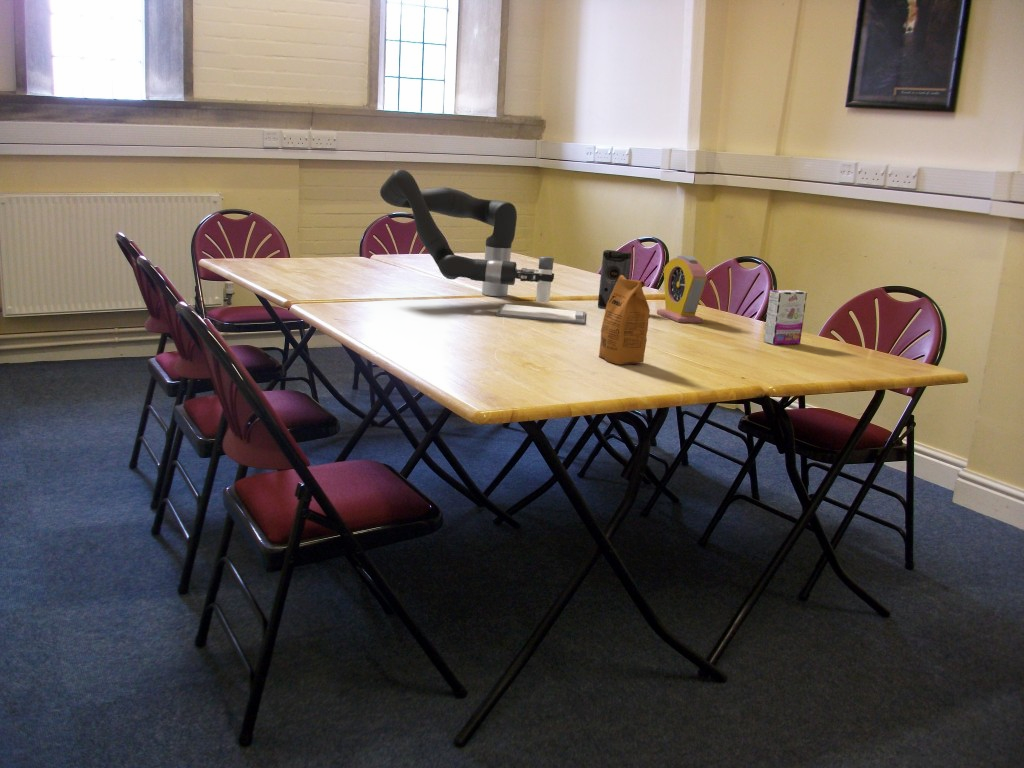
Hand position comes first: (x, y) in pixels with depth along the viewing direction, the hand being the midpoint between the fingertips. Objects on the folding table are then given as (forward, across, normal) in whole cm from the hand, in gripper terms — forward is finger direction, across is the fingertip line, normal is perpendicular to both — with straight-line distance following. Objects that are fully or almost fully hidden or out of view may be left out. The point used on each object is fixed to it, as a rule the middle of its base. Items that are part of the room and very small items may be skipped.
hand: (553, 277), depth 315 cm
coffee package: (+22, -62, +13) cm, 67 cm away
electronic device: (+20, +27, +12) cm, 36 cm away
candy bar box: (+73, -11, +12) cm, 74 cm away
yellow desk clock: (+43, +19, +12) cm, 49 cm away
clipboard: (-2, 0, +12) cm, 13 cm away
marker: (-3, 0, +8) cm, 8 cm away
